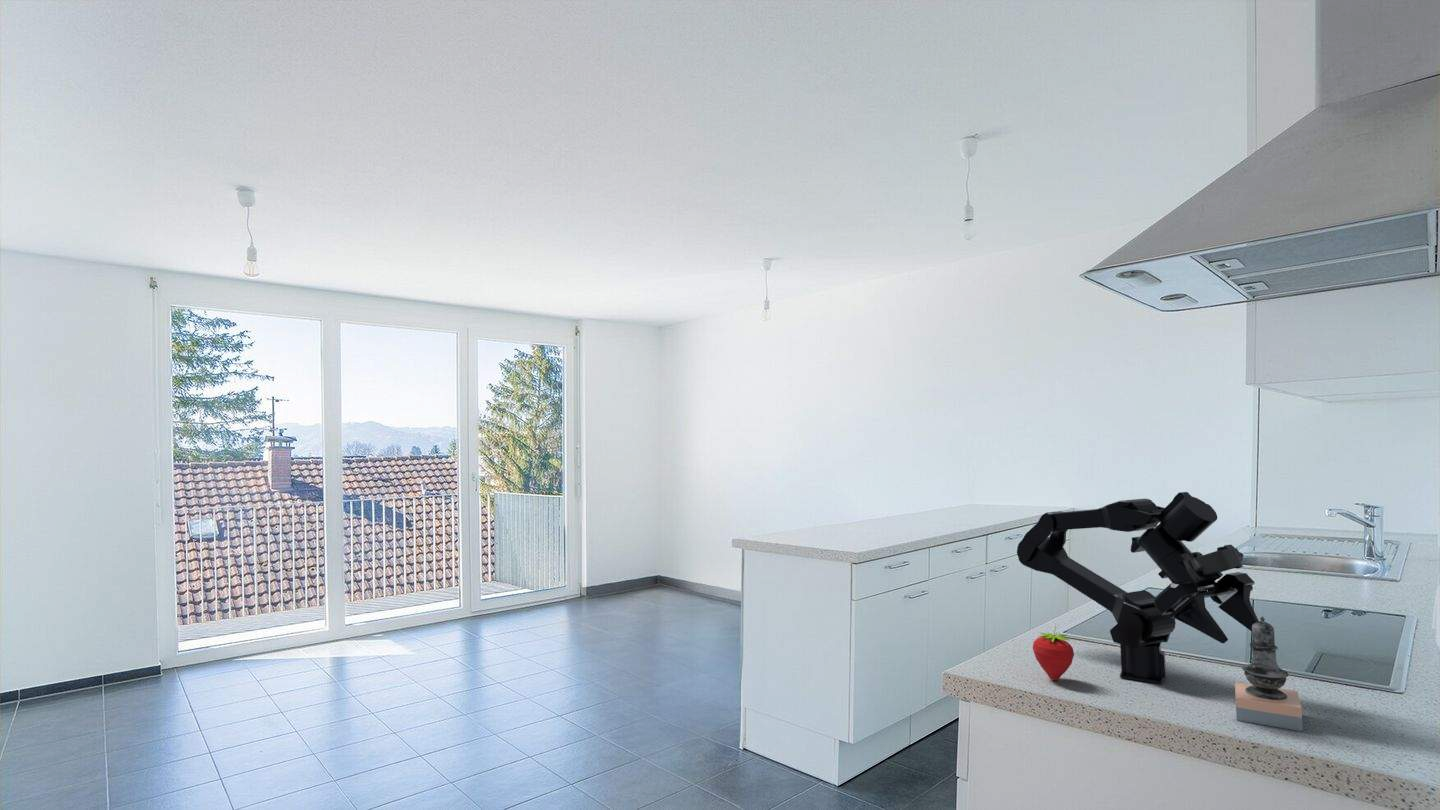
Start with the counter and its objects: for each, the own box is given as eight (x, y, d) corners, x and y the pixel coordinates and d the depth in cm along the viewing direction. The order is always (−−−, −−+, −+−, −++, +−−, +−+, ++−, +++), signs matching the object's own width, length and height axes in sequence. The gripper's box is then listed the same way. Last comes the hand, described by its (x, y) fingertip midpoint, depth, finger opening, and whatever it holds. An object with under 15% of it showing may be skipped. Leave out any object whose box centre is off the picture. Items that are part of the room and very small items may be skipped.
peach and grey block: (1236, 720, 112) (1235, 697, 112) (1236, 703, 118) (1235, 682, 118) (1302, 731, 107) (1301, 707, 107) (1298, 713, 113) (1297, 691, 114)
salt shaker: (1282, 689, 114) (1278, 613, 115) (1295, 702, 109) (1291, 622, 109) (1238, 685, 117) (1234, 610, 117) (1248, 697, 111) (1245, 619, 112)
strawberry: (1048, 671, 136) (1046, 618, 136) (1083, 683, 129) (1081, 627, 129) (1025, 676, 133) (1023, 622, 134) (1060, 689, 127) (1057, 631, 127)
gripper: (1168, 533, 117) (1243, 617, 107) (1239, 525, 125) (1316, 602, 114) (1126, 573, 124) (1193, 656, 114) (1196, 563, 132) (1264, 639, 121)
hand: (1243, 637), depth 116 cm, fingers open, 9 cm apart
